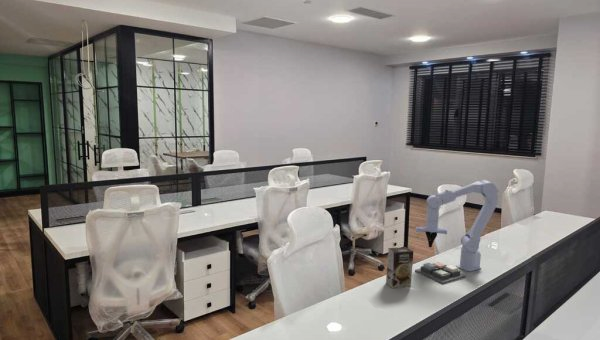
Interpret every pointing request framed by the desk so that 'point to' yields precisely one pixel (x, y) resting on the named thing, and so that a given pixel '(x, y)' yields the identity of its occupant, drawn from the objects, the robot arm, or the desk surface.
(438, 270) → the sage key
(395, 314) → the desk surface
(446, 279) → the keypad
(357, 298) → the desk surface
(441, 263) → the terracotta key
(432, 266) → the slate key
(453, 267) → the cream key
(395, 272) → the coffee box
